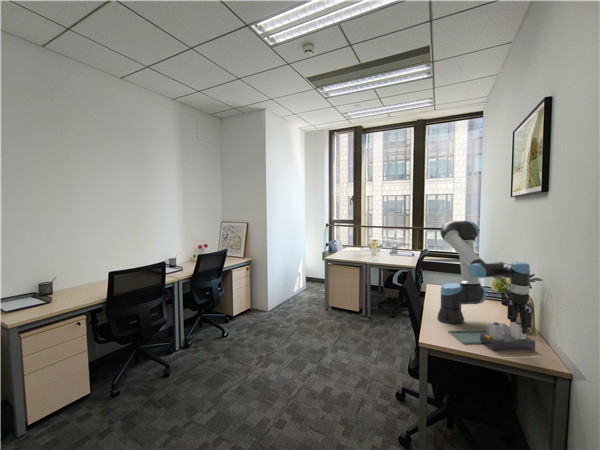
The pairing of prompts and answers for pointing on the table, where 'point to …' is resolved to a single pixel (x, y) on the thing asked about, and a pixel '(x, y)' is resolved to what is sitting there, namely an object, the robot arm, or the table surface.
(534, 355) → the table surface
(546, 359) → the table surface
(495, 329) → the twin plug
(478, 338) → the tray
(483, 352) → the table surface
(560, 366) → the table surface
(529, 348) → the strip
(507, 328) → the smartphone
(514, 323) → the plug
